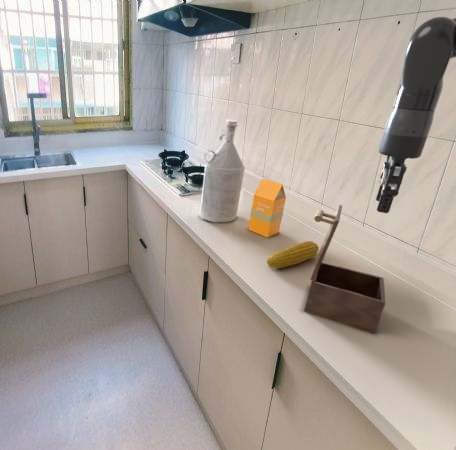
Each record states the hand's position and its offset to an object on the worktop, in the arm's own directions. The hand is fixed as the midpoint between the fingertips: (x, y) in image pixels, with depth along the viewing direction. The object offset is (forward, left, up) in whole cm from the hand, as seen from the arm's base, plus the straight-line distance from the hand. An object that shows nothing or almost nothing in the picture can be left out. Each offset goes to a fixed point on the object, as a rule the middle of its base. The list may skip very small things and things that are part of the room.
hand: (381, 206), depth 76 cm
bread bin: (+2, 0, -29) cm, 29 cm away
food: (+17, -18, -29) cm, 38 cm away
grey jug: (+51, -41, -29) cm, 72 cm away
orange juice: (+31, -38, -29) cm, 57 cm away
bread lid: (+8, 0, -11) cm, 14 cm away
